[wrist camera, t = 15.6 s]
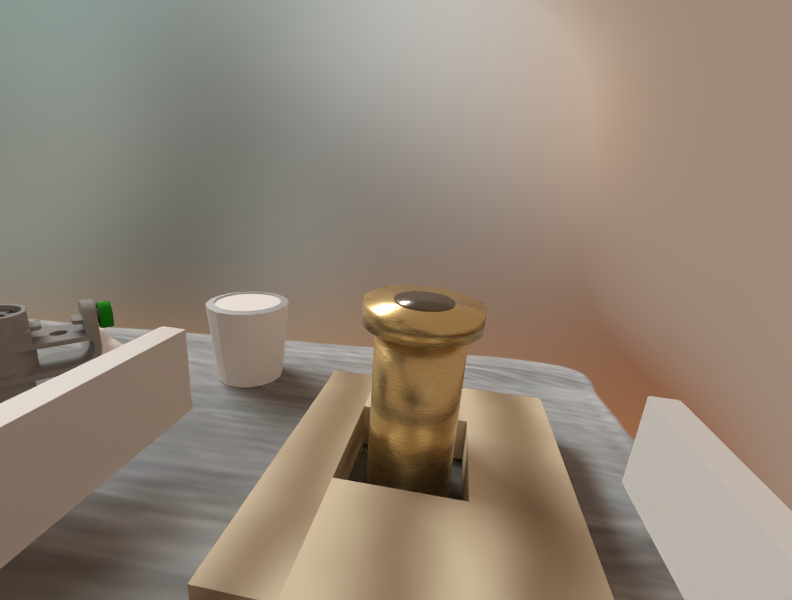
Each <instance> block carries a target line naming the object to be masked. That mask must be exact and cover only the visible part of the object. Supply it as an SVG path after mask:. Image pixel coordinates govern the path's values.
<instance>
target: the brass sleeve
mask: <svg viewBox="0 0 792 600" xmlns="http://www.w3.org/2000/svg"><path fill="white" fill-rule="evenodd" d="M486 313H487V308H486V306H485V305H484V303H482V302H481V301H479V300H478V299H476V298H474V297H472V296H469V295H467V294H464V293H461V292H457V291H453V290H449V289H444V288H437V287H429V286H416V285H400V286H388V287H382V288H378V289H374V290H372V291H369V292H368V293H366V294H365V295H364V297H363V310H362V324H363V326H364V327H365V329H367V330H368V331H369V332H370V333H372V334H374V335H375V337H374V353H373V371H372V389H371V407H370V425H369V443H368V461H367V478H366V484H371V485H377V486H383V487H388V488H394V489H400V490H405V491H411V492H417V493H422V494H428V495H434V496H439V497H445V498H448V492H449V484H450V477H451V469H452V462H453V454H454V446H455V439H456V431H457V424H458V416H459V409H460V401H461V394H462V386H463V378H464V371H465V363H466V356H467V348H468V344H471V343H474V342H476V341H477V340H479V339H480V338H481V337H482V335H483V333H484V327H485V320H486Z"/></svg>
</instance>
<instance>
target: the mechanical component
mask: <svg viewBox="0 0 792 600" xmlns="http://www.w3.org/2000/svg"><path fill="white" fill-rule="evenodd" d="M78 307H79V313H80V314H78V315H73V316H71V321H72V324H67V325H60V326H53V327H47V328H41V323H40V321H39V320H34V321H28V317H27V313H26V308H25V305H20V304H0V403H2V402H4V401H7V400H9V399H11V398H13V397H15V396H17V395H19V394H21V393H23V392H25V391H28V390H30V389H32V388H34V387H36V382H35V381H37V380H41V379H46V378H51V377H56V376H59V375H61V374H63V373H65V372H67V371H69V370H72V369H74V368H76V367H78V366H80V365H82V364H84V363H86V362H88V361H90V360H93V359H95V358H97V357H99V356H101V354H102V343H101V337H100V330H99V326H100V328H105V327H112V326H114V319H113V313H112V308H111V305H110V302H109V301H104V302H97V303H96V308H95V306H94V303H93V301H92V299H88V300H79V301H78ZM98 323H99V324H98ZM83 341H87V342H86V343H85V344H84V345H83V346H82V347H80V348H78V349H76V350H70V351H65V352H59V353H54V354H49V355H43V356H38V354H37V349H42V348H48V347H54V346H59V345H65V344H71V343H77V342H83Z"/></svg>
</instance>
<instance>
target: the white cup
mask: <svg viewBox="0 0 792 600" xmlns="http://www.w3.org/2000/svg"><path fill="white" fill-rule="evenodd" d="M288 302H289V301H288V300H287V299H286V298H285V297H283V296H280V295H277V294H272V293H266V292H240V293H239V292H238V293H230V294H225V295H220V296H217V297H215V298H212V299H210V300H209V301H208V302H207V303H206V309H207V315H208V320H209V326H210V332H211V337H212V343H213V348H214V354H215V360H216V365H217V371H218V376H219V379H220V381H221V382H223V383H224V384H226V385H228V386H233V387H256V386H261V385H265V384H268V383H270V382H272V381H275V380H276V379H277V378H278V377H280V376H281V374H282V370H283V360H284V348H285V337H286V325H287V314H288Z"/></svg>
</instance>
